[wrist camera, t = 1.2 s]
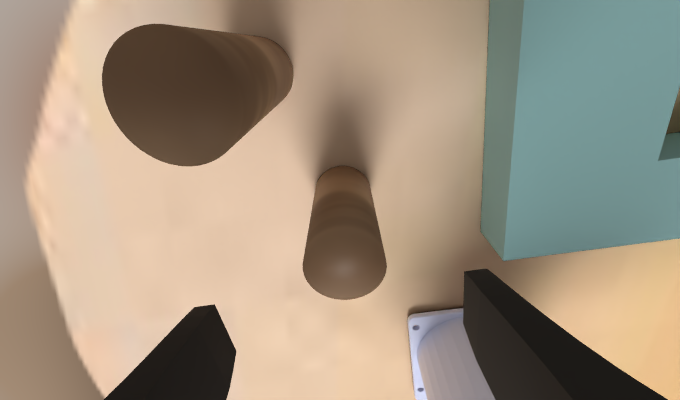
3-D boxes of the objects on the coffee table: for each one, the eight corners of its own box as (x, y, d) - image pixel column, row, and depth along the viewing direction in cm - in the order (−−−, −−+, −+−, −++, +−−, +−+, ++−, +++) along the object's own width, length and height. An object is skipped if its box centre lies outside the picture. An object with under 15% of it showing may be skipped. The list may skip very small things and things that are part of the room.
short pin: (373, 211, 19) (390, 294, 13) (321, 219, 19) (311, 304, 13) (366, 162, 17) (382, 226, 11) (310, 170, 18) (294, 238, 11)
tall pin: (299, 101, 16) (258, 155, 8) (238, 111, 16) (139, 175, 8) (284, 31, 15) (217, 11, 7) (218, 43, 15) (74, 38, 7)
